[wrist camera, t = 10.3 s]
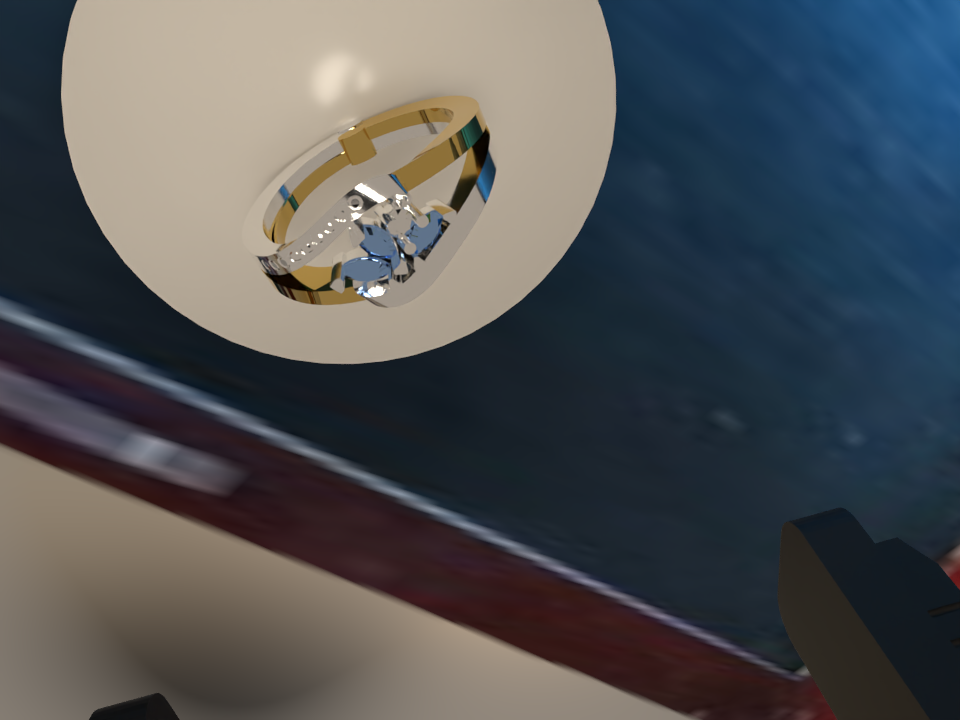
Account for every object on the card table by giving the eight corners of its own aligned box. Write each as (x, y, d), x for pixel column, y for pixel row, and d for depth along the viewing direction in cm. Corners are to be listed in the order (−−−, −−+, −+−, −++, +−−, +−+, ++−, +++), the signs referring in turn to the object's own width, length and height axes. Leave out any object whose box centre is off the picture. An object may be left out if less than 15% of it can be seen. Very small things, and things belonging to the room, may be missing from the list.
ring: (441, 33, 25) (504, 131, 18) (482, 133, 27) (553, 253, 20) (220, 138, 25) (206, 271, 19) (276, 229, 27) (280, 378, 21)
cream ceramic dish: (578, -239, 23) (592, -238, 22) (620, 282, 32) (632, 299, 31) (-43, -108, 22) (-58, -102, 21) (188, 392, 31) (185, 413, 30)
